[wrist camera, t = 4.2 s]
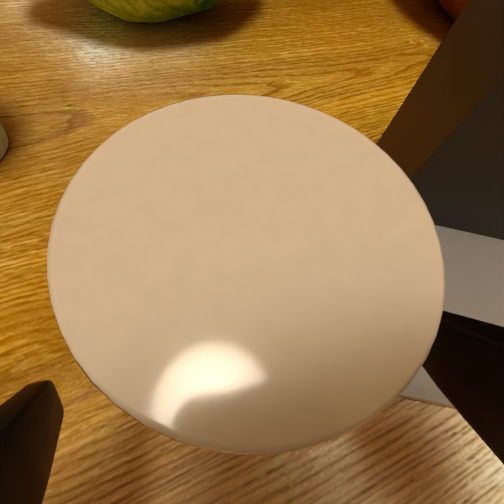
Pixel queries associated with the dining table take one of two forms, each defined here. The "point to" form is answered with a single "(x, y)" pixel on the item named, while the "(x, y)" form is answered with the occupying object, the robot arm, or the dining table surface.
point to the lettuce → (152, 8)
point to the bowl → (453, 7)
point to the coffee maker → (460, 165)
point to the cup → (3, 141)
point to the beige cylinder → (245, 274)
